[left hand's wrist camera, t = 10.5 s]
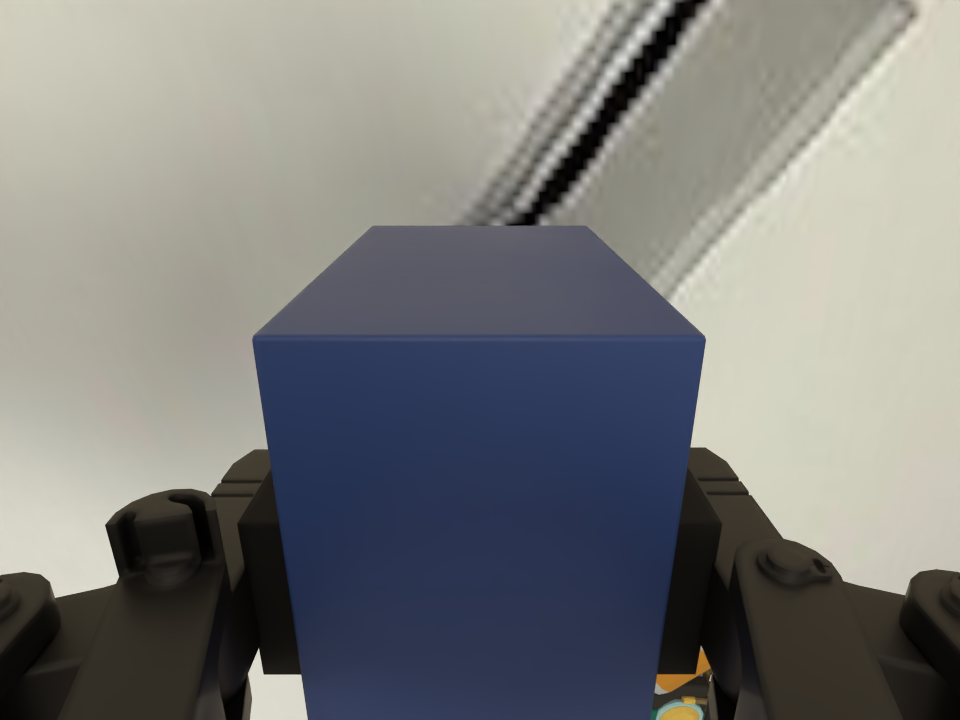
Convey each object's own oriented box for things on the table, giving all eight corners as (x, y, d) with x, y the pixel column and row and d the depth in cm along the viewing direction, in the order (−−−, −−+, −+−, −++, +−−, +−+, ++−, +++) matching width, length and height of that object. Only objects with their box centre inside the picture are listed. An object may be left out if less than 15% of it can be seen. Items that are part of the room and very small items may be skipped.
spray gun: (847, 632, 44) (729, 753, 49) (654, 564, 40) (550, 703, 45) (886, 685, 40) (753, 811, 45) (676, 615, 36) (559, 760, 42)
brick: (567, 529, 17) (635, 837, 10) (391, 530, 17) (323, 837, 10) (587, 225, 14) (708, 336, 6) (371, 225, 14) (249, 335, 6)
